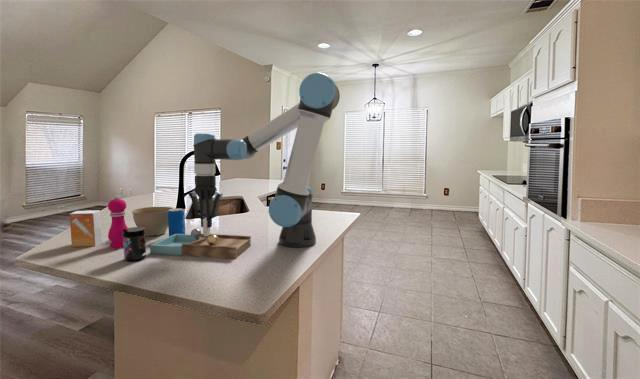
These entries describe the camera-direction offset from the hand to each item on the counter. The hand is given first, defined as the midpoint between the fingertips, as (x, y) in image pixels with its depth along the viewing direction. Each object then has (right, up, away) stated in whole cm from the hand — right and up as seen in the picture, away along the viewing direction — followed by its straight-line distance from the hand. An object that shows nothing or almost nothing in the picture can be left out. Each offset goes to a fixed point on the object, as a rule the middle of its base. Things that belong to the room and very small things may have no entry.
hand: (206, 235), depth 127 cm
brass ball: (+5, -1, -9) cm, 10 cm away
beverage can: (-17, -3, +13) cm, 22 cm away
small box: (-47, -4, +1) cm, 47 cm away
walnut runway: (+6, -5, -4) cm, 9 cm away
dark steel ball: (-4, +1, 0) cm, 4 cm away
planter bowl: (-29, -2, +18) cm, 35 cm away
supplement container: (-19, -6, -15) cm, 25 cm away
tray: (-10, -5, -2) cm, 11 cm away
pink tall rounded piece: (-33, -4, -1) cm, 33 cm away
